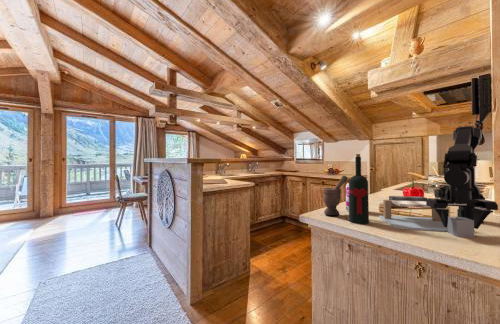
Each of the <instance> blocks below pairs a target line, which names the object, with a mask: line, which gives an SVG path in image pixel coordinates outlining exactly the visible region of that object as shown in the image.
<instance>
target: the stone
mask: <svg viewBox="0 0 500 324" xmlns="http://www.w3.org/2000/svg"><path fill="white" fill-rule="evenodd" d="M447 233H448V234H450V235H452V236H454V237H458V238H471V239H474V238H475V228H474V220H471V219H468V218H465V217H457V216H449V215H448V232H447Z"/></svg>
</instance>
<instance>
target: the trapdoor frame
mask: <svg viewBox="0 0 500 324" xmlns="http://www.w3.org/2000/svg"><path fill="white" fill-rule="evenodd" d="M382 201H383V202H382V203H383V207H382V208H383V211H382V213H383V215H378V219H381V220H382V221H384V222H385V223H387V224H388V225H389V226H391V227H393V228H394V229H396V230H413V231H414V230H415V231H430V232H431V231H432V232H434V231H435V232H447V233H448V225H447V227H444V226H443V223H442V221H441V219H440V217H439V215H438V213H437V211H436V210H435V209H433V208H431V217H419V216H398V215H397V216H396V215H395V216H394V215H392V204H391V200H389V199H383V200H382Z"/></svg>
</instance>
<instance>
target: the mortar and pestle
mask: <svg viewBox="0 0 500 324" xmlns="http://www.w3.org/2000/svg"><path fill="white" fill-rule="evenodd" d="M347 181H348V176H347V175H342V176H341V177H340V179H339V181H338V182H337V184H336V185H335V186H334V187H327V186H326V187H323V188H322V199H323V203H324V204H325V206H326V209H324V212H323V214H325V215H327V216H339V215H340V211H339V210H338V209H337V207H338V206H339V205H340V203H341V194H342V192H341V191H342V189H341V187H342V186H343V185H344V184H346V182H347Z"/></svg>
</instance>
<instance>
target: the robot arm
mask: <svg viewBox="0 0 500 324" xmlns="http://www.w3.org/2000/svg"><path fill="white" fill-rule="evenodd" d="M482 133H483V132H482V129H481V128H479V127H474V126H472V125H465V126H459V127H456V128H455V130H453V132H452V141H454V143H453V146H450V147H449V148H448V150H447V153H444V159H443V160H444V161H443V169H448V170H447V171H446V172H445V173H444V175H443V179H444V181H445V184H447V185H448V186H446V189H445V190H443V189H442V188H441V189H438V188H436V189H434V191H433V192H434V193H433V194H434V198H433V197H432V198H431V197H427V198H428V199H427V201H426V205H427V206H430V207H429V208H431V209H432V208H433V209H435V210H436V211H437V213H438V215H439V217H440V219H441V221H442V223H443V226H444V227H447V225H448V216H449V212H450V210H449V209H448V207H458V209H457V216H456V217H465V218H468V219H471V220H474V230H475V229H476V230H478V229H479V228H480V226H481V225H482V224H484V223H485V222H484V221H485V220H486V218H488V217H489V215H490V214H493V213H494V211H498V210H499V204H498V203H497V202H496V201H494V200H489V199H486V197H484V195H483V194H482V193H481V188H479V186H478V185H477V184H476V167H477V165H478V155H477V154H476V153H475V150H476V149H477V147H478V146H479V145H480V143H481V141H480V140H482V137H483V134H482Z"/></svg>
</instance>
